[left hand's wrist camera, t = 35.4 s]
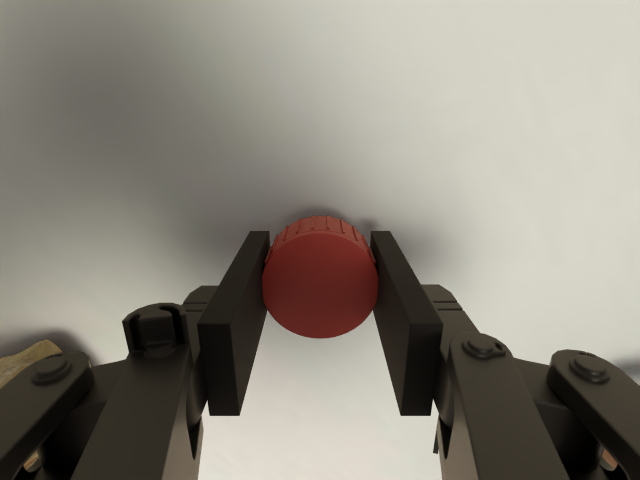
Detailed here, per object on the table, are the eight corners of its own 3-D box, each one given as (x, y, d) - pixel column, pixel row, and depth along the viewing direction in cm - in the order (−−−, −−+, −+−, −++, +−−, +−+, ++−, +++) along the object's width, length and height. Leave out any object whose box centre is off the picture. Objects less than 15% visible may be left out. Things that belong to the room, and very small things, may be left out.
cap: (270, 309, 15) (262, 339, 13) (265, 214, 14) (255, 231, 12) (369, 310, 15) (377, 340, 13) (375, 214, 14) (384, 232, 12)
